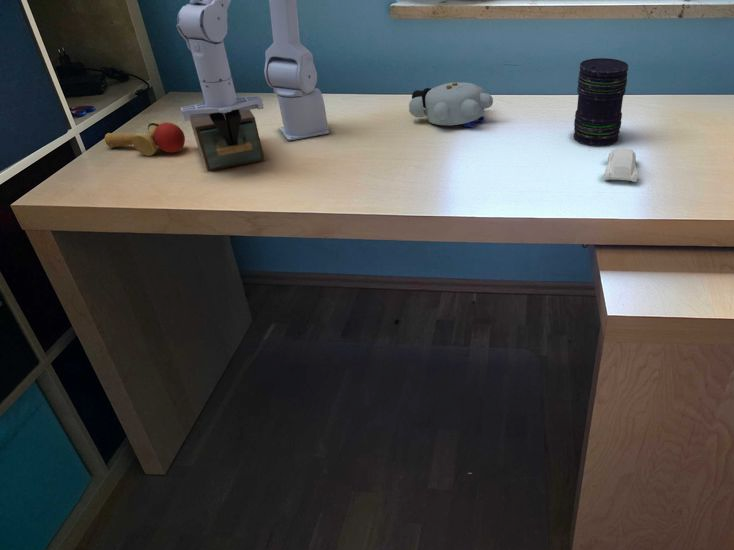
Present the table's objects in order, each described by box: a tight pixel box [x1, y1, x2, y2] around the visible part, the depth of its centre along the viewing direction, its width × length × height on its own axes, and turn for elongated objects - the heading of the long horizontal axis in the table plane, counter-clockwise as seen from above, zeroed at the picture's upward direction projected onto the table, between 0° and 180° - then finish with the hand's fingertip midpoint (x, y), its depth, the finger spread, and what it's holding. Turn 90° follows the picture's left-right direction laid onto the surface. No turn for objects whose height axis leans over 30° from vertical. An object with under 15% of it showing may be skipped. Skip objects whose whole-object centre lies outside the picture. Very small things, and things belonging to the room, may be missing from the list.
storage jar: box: [573, 57, 629, 147], centre depth 133 cm, size 10×10×15 cm
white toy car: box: [603, 147, 639, 183], centre depth 122 cm, size 12×6×5 cm, turn 168°
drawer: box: [200, 122, 262, 168], centre depth 129 cm, size 17×10×7 cm, turn 26°
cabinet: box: [189, 110, 265, 172], centre depth 131 cm, size 13×11×9 cm
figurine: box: [408, 81, 494, 128], centre depth 146 cm, size 17×8×20 cm
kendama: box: [104, 120, 186, 157], centre depth 135 cm, size 8×6×18 cm
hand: (233, 151), depth 125 cm, fingers closed, pressing on drawer
